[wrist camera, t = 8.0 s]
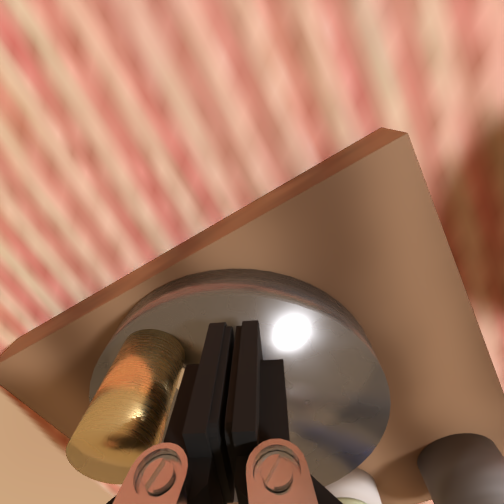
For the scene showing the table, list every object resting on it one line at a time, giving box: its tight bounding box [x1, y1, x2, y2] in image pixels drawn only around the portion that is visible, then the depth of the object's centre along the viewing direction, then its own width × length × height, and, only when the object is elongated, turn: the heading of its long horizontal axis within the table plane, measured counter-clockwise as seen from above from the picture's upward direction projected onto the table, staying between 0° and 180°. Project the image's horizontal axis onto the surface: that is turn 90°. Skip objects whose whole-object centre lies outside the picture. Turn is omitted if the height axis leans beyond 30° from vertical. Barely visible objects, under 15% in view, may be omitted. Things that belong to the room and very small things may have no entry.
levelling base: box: [0, 127, 504, 504], centre depth 17 cm, size 22×22×6 cm
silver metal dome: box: [66, 269, 391, 502], centre depth 13 cm, size 13×13×6 cm
